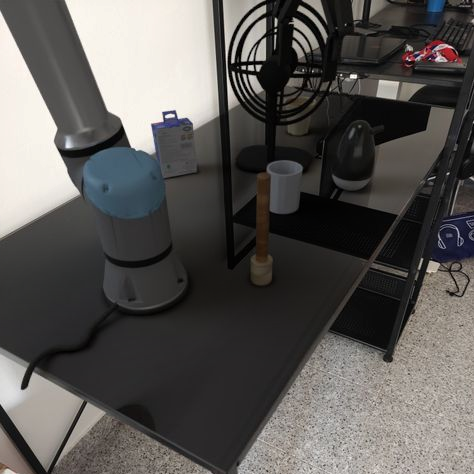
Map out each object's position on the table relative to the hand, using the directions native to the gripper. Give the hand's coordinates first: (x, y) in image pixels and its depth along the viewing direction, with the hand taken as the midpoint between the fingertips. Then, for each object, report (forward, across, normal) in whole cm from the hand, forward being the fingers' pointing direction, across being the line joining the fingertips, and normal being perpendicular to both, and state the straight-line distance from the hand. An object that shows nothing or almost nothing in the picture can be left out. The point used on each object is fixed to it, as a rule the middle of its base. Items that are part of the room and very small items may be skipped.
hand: (305, 72), depth 82 cm
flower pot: (+27, +37, -29) cm, 54 cm away
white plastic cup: (+27, +1, +2) cm, 27 cm away
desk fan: (+27, +23, -11) cm, 37 cm away
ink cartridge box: (+28, +32, +15) cm, 44 cm away
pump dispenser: (+27, 0, -18) cm, 32 cm away
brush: (+27, -20, +22) cm, 40 cm away
